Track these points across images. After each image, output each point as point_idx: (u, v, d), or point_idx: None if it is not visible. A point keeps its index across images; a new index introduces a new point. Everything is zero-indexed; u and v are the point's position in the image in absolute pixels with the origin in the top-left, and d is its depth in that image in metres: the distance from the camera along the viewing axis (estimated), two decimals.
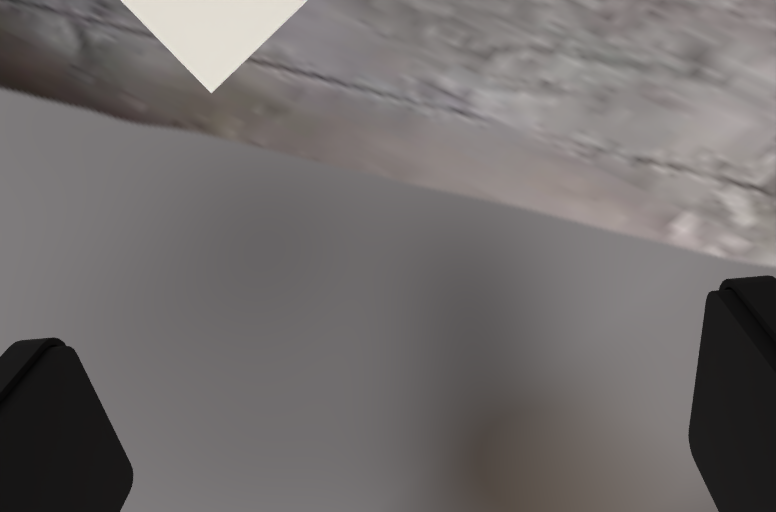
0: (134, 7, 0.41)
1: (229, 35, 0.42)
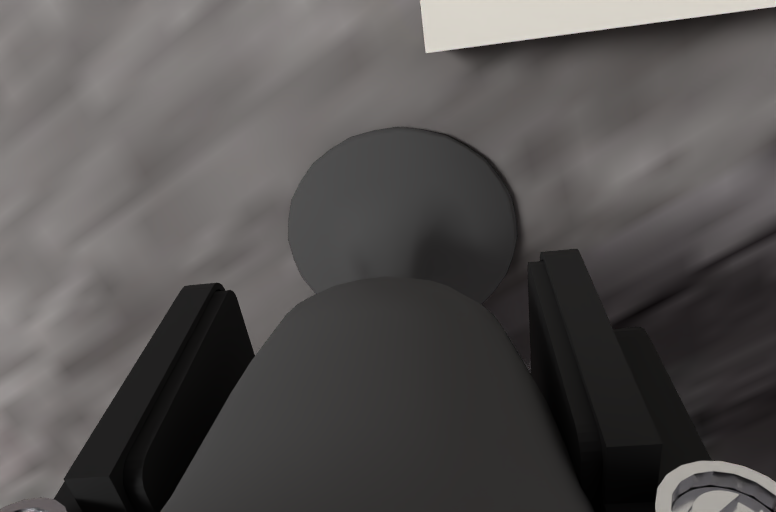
0: None
1: None
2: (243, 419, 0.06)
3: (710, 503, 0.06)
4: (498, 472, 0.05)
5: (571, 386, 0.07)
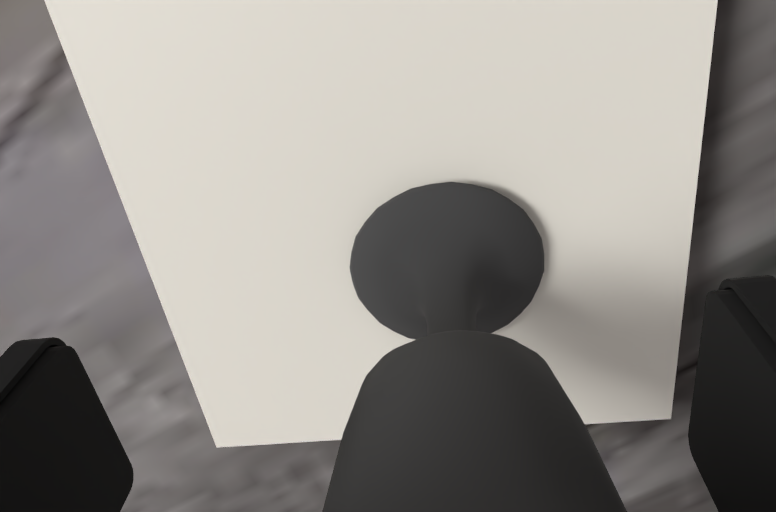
0: None
1: (147, 57, 0.14)
2: (390, 457, 0.09)
3: None
4: (580, 502, 0.08)
5: None
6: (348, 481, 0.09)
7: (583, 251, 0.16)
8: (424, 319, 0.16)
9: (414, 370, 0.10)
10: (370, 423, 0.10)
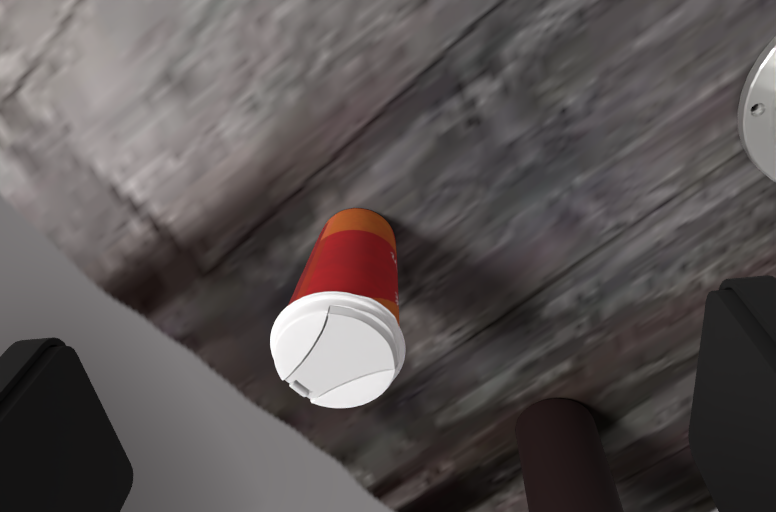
0: None
1: None
2: None
3: None
4: None
5: None
6: None
7: None
8: None
9: None
10: None
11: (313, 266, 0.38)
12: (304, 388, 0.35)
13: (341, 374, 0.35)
